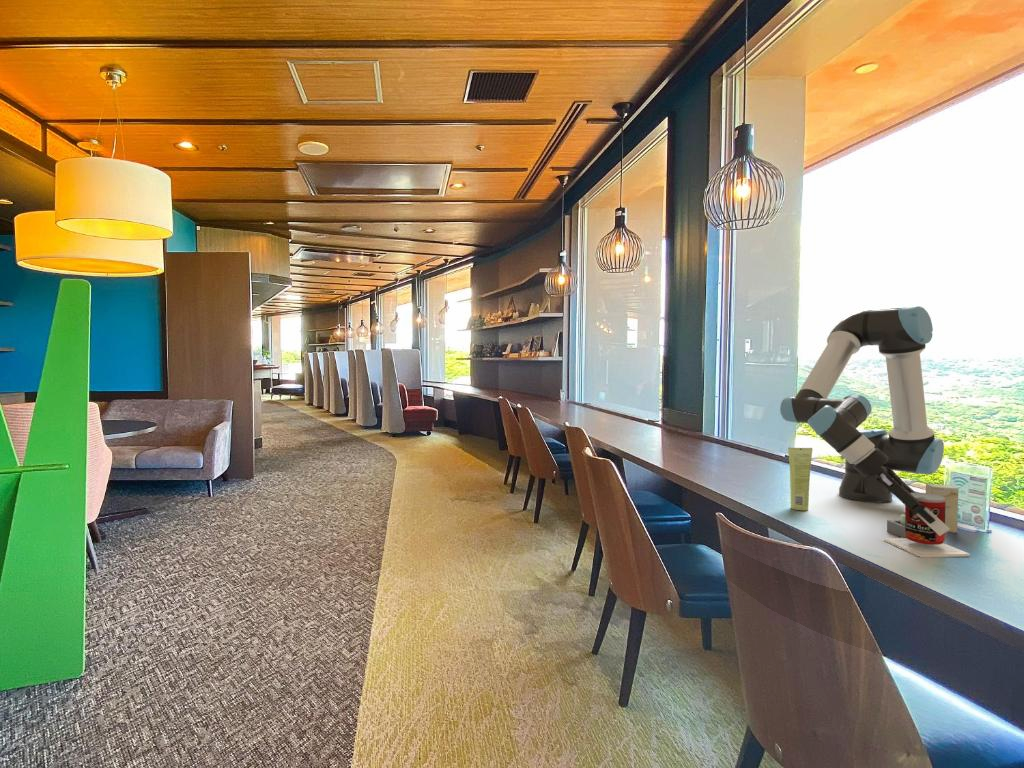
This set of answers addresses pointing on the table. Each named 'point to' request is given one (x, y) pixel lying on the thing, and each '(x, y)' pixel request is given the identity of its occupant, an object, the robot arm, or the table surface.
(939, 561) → the table surface
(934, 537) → the canned food
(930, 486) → the skincare box
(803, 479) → the tube
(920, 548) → the paper pad
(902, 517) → the button
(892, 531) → the button box
